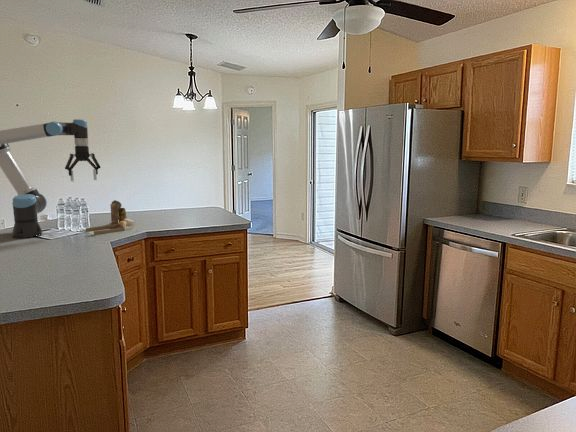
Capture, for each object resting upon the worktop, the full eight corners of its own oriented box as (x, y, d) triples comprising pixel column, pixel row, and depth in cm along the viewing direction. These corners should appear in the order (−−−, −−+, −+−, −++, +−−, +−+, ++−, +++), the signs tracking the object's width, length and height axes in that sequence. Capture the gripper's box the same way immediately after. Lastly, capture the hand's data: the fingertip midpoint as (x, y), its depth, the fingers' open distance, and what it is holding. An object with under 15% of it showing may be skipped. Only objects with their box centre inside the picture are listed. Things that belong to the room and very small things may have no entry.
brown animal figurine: (109, 228, 282) (107, 200, 279) (116, 223, 295) (115, 197, 292) (123, 228, 282) (121, 200, 279) (130, 224, 295) (128, 197, 292)
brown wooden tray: (95, 238, 254) (95, 227, 253) (84, 233, 266) (84, 222, 265) (137, 232, 271) (136, 221, 270) (125, 227, 283) (124, 217, 282)
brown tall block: (114, 230, 266) (113, 205, 263) (109, 228, 271) (108, 203, 268) (120, 229, 269) (119, 204, 266) (116, 228, 274) (114, 203, 271)
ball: (128, 220, 272) (128, 228, 273) (124, 219, 276) (125, 227, 277) (120, 222, 269) (120, 230, 270) (116, 220, 272) (117, 228, 273)
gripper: (61, 145, 256) (64, 182, 259) (104, 145, 273) (106, 179, 277) (57, 145, 261) (60, 181, 265) (100, 145, 278) (101, 178, 282)
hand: (83, 180), depth 271 cm, fingers open, 13 cm apart
